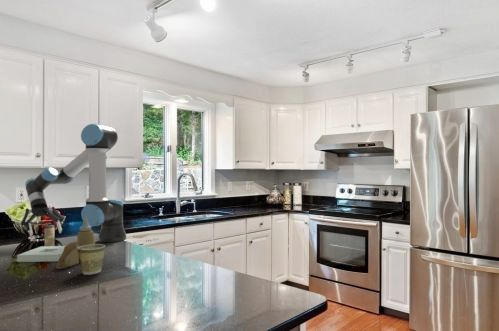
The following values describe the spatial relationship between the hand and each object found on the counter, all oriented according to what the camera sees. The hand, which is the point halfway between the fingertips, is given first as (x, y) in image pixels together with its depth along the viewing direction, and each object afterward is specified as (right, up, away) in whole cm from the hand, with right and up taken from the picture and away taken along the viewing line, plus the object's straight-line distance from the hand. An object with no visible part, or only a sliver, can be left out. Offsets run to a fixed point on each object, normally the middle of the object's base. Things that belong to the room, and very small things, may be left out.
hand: (46, 233), depth 187 cm
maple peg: (+2, -8, -1) cm, 8 cm away
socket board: (+11, -8, -18) cm, 23 cm away
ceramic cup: (+43, -7, -44) cm, 62 cm away
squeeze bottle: (+30, -7, -22) cm, 38 cm away
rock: (+28, -7, -35) cm, 46 cm away
